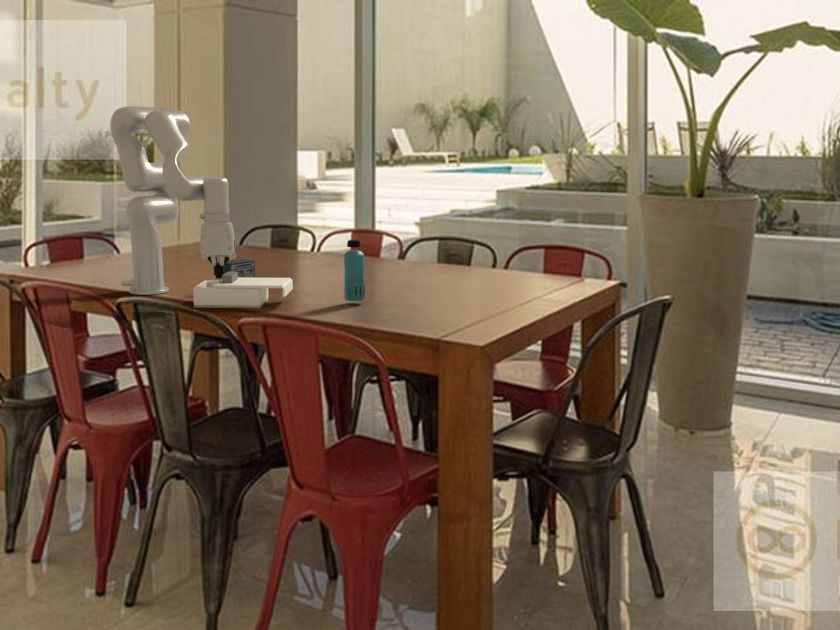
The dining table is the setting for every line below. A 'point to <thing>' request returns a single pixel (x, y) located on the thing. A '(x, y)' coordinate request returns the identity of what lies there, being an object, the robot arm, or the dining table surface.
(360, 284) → the beverage bottle
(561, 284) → the dining table surface
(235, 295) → the base
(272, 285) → the lid
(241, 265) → the small box
